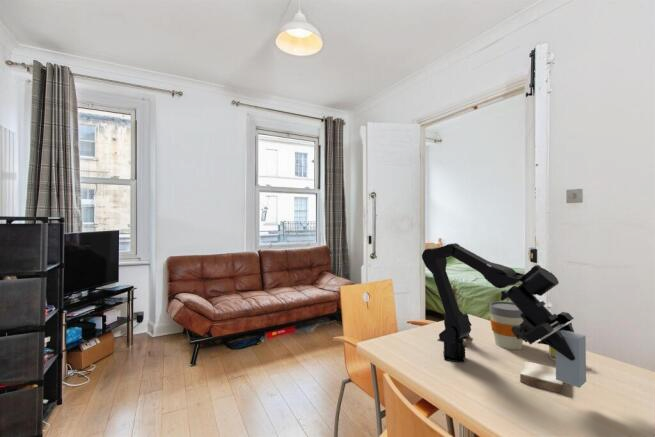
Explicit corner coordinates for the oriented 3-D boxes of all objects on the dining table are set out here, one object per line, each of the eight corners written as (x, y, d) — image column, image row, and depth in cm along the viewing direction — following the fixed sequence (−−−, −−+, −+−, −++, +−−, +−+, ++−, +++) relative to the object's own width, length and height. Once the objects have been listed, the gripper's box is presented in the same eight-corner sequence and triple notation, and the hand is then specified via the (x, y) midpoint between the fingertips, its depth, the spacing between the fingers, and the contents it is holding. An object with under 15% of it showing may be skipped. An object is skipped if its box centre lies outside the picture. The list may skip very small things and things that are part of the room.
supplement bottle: (569, 362, 102) (569, 337, 102) (553, 361, 103) (553, 336, 103) (561, 356, 106) (561, 332, 106) (546, 355, 107) (546, 331, 107)
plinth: (520, 381, 91) (520, 373, 91) (524, 368, 98) (524, 360, 98) (562, 393, 84) (562, 384, 84) (563, 378, 92) (563, 369, 92)
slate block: (555, 379, 80) (555, 334, 80) (562, 373, 83) (562, 329, 83) (579, 387, 76) (578, 340, 76) (586, 381, 79) (585, 335, 79)
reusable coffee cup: (527, 342, 119) (526, 303, 119) (528, 354, 108) (527, 312, 108) (491, 335, 126) (490, 299, 126) (488, 347, 115) (487, 307, 115)
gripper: (521, 313, 97) (564, 360, 88) (492, 326, 87) (537, 381, 78) (550, 293, 91) (598, 342, 82) (522, 304, 80) (575, 362, 71)
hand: (577, 357), depth 78 cm, fingers closed on slate block, 5 cm apart
